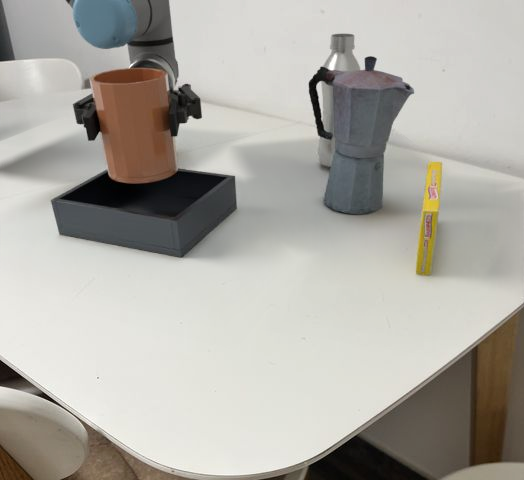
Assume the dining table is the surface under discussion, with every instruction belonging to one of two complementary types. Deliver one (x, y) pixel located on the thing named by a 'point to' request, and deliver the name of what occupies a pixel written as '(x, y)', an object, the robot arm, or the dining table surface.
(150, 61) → the robot arm
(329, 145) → the silver bottle
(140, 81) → the pot
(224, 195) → the tray
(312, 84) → the moka pot
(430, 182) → the candy box
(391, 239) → the dining table surface
